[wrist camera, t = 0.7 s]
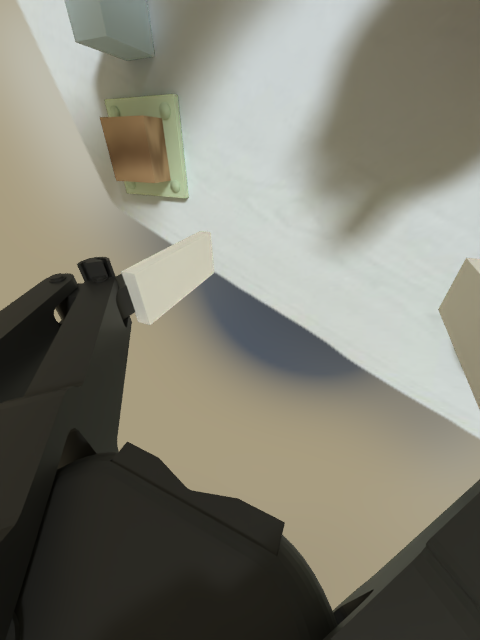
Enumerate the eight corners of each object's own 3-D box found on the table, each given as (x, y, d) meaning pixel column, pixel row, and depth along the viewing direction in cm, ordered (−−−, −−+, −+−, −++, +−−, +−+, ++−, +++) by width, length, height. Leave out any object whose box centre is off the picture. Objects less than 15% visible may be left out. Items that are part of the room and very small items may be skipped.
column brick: (116, 5, 31) (56, -29, 25) (146, -3, 30) (90, -41, 24) (126, 60, 34) (75, 42, 28) (154, 56, 32) (106, 35, 26)
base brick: (121, 119, 38) (99, 117, 35) (161, 118, 35) (142, 115, 32) (133, 178, 43) (116, 180, 40) (170, 180, 40) (154, 183, 37)
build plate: (109, 100, 38) (102, 99, 37) (177, 95, 34) (172, 93, 33) (130, 192, 46) (125, 193, 45) (188, 197, 41) (184, 198, 40)
